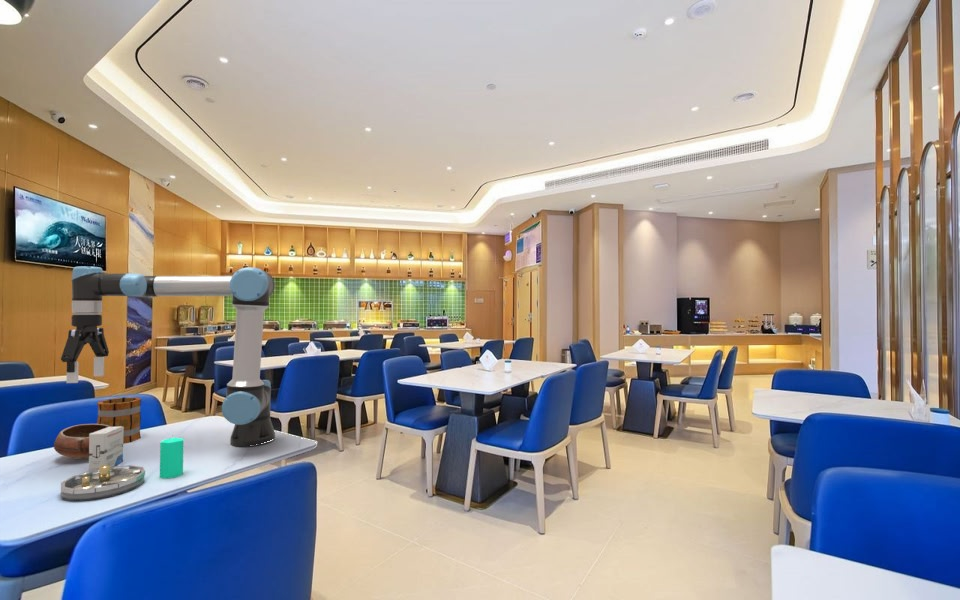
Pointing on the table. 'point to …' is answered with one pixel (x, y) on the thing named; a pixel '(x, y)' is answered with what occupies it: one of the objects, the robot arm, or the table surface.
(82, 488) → the carrier
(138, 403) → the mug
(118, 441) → the ink box
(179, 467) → the candle
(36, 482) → the table surface
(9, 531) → the table surface
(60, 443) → the bowl
